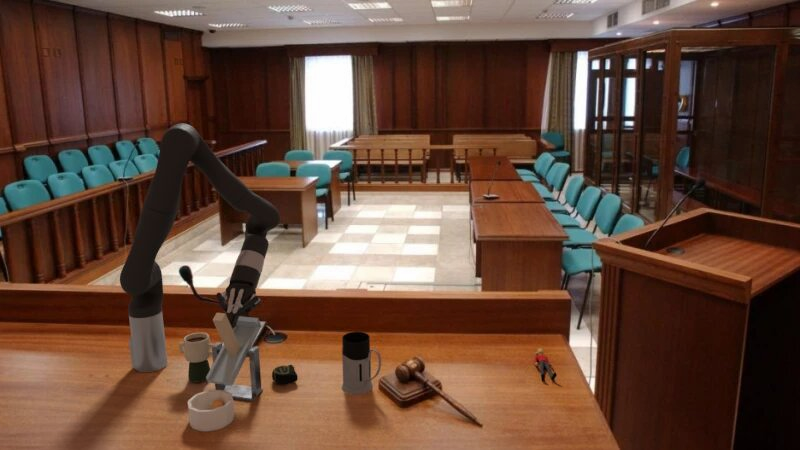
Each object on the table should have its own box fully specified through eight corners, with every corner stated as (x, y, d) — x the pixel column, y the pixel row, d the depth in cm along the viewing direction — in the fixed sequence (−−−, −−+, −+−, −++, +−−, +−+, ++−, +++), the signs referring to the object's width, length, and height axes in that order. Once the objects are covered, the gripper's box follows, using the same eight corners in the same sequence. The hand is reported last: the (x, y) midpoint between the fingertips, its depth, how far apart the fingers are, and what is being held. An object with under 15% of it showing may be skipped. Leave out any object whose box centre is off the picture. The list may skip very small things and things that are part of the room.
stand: (212, 396, 174) (208, 348, 170) (224, 385, 179) (220, 339, 176) (254, 401, 171) (250, 353, 167) (264, 390, 176) (261, 344, 173)
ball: (207, 409, 163) (211, 397, 164) (212, 412, 165) (216, 401, 167) (218, 410, 162) (222, 399, 163) (223, 414, 164) (226, 402, 166)
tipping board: (205, 383, 166) (185, 345, 156) (236, 325, 181) (220, 287, 171) (236, 387, 164) (217, 349, 154) (264, 328, 179) (249, 289, 169)
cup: (180, 429, 158) (178, 409, 157) (205, 406, 169) (203, 387, 167) (219, 434, 155) (217, 414, 154) (241, 411, 166) (240, 392, 165)
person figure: (541, 368, 180) (534, 341, 197) (536, 380, 181) (530, 352, 198) (558, 373, 180) (550, 346, 197) (553, 385, 181) (545, 357, 198)
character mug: (223, 374, 186) (219, 333, 183) (212, 386, 179) (209, 343, 176) (188, 372, 188) (184, 331, 184) (176, 383, 181) (172, 341, 178)
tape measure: (298, 385, 180) (297, 373, 179) (273, 388, 178) (273, 376, 177) (294, 374, 186) (294, 362, 185) (271, 378, 184) (270, 366, 183)
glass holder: (358, 376, 184) (357, 328, 181) (392, 393, 175) (392, 342, 171) (335, 386, 178) (333, 337, 175) (368, 405, 169) (367, 353, 165)
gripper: (220, 262, 175) (200, 320, 166) (264, 265, 172) (246, 325, 163) (231, 274, 181) (212, 331, 173) (274, 277, 178) (256, 335, 169)
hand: (228, 328), depth 168 cm, fingers closed
